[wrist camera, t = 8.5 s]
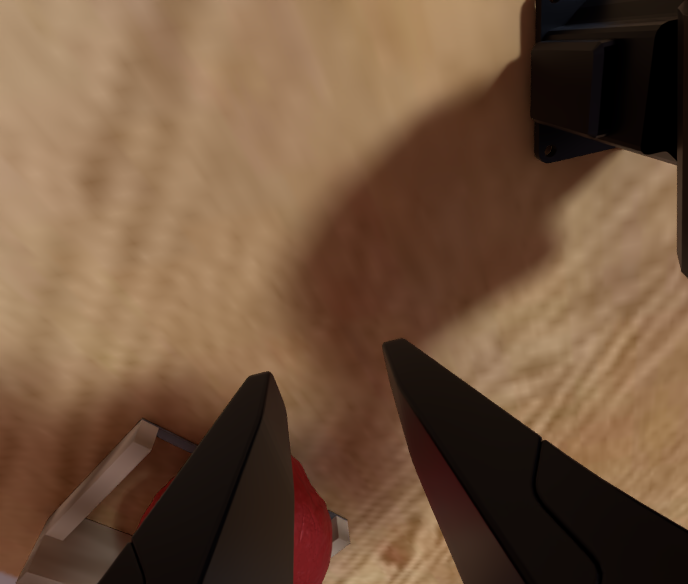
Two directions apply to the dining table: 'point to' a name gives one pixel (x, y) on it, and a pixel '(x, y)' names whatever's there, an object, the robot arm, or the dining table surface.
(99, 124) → the dining table surface
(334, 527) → the cradle
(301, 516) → the pomegranate
